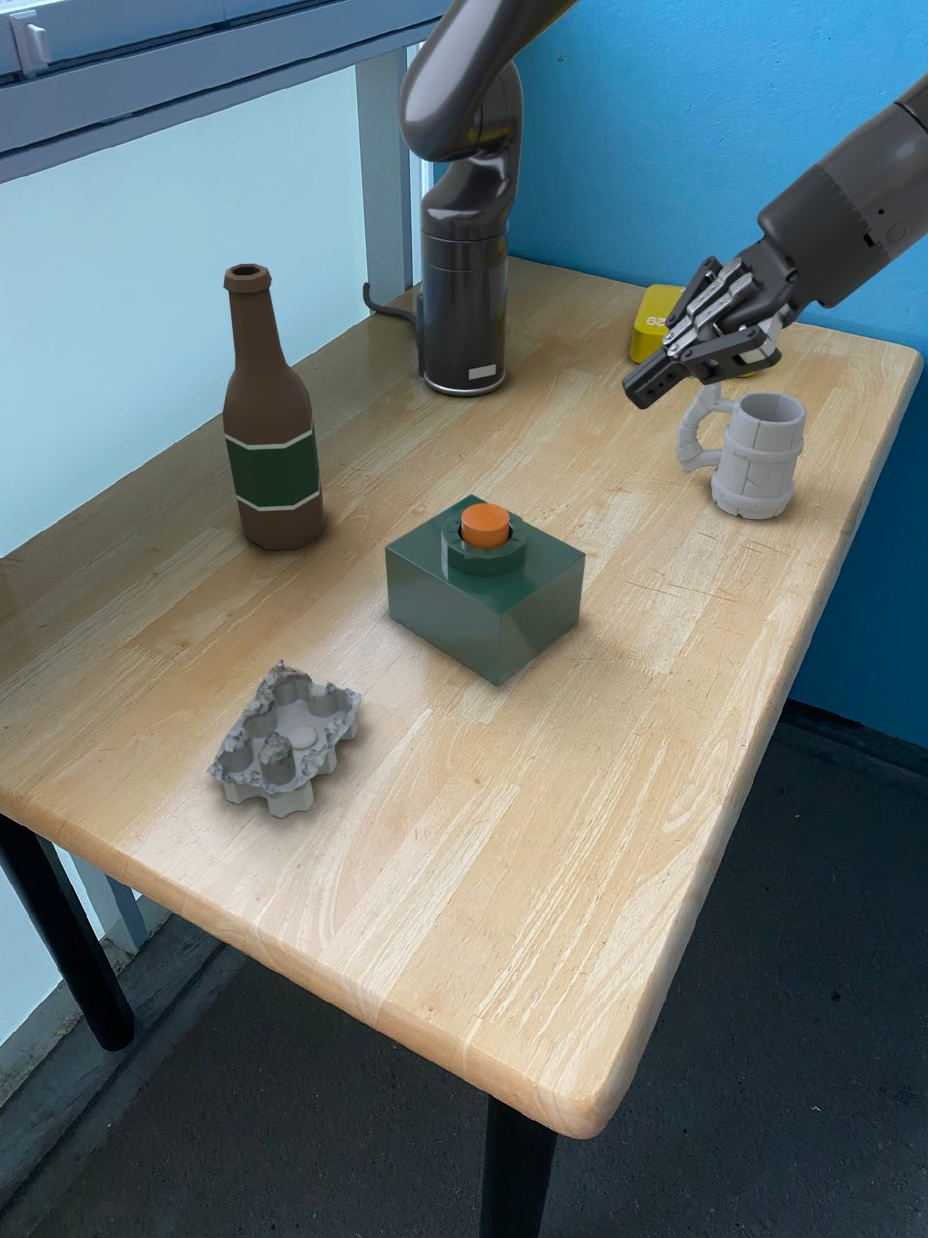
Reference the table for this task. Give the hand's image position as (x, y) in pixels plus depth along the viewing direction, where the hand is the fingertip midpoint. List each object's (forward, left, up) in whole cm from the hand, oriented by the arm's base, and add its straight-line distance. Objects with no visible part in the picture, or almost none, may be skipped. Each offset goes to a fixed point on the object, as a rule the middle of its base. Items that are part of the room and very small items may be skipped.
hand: (630, 397), depth 64 cm
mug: (-2, +23, -20) cm, 31 cm away
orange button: (-7, -7, -11) cm, 15 cm away
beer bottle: (-29, -10, -20) cm, 37 cm away
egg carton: (-7, -27, -20) cm, 34 cm away
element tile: (-22, +49, -20) cm, 57 cm away
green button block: (-7, -7, -20) cm, 22 cm away
